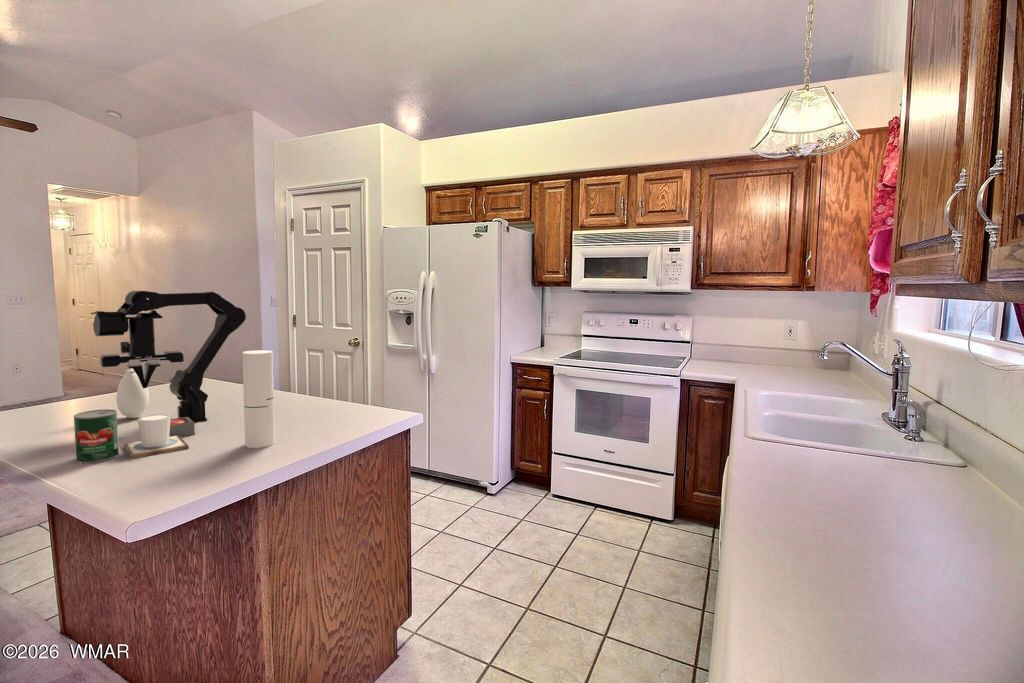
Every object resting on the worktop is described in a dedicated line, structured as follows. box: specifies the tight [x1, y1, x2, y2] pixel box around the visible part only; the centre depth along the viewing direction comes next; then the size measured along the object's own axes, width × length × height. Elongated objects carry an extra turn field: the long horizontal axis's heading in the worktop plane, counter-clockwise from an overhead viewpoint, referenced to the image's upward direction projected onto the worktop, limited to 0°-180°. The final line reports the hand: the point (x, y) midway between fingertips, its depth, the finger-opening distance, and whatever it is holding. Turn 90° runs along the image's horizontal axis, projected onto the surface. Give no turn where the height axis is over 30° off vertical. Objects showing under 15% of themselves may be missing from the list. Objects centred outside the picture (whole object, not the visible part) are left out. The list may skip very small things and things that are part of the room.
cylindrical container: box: [242, 349, 276, 449], centre depth 130 cm, size 7×7×25 cm
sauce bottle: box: [115, 368, 150, 420], centre depth 152 cm, size 8×8×18 cm
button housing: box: [169, 417, 196, 437], centre depth 138 cm, size 8×8×4 cm
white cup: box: [137, 414, 172, 447], centre depth 125 cm, size 7×7×7 cm
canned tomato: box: [73, 408, 120, 464], centre depth 117 cm, size 8×8×11 cm
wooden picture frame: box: [122, 435, 190, 459], centre depth 126 cm, size 12×12×1 cm
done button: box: [170, 420, 185, 425], centre depth 138 cm, size 5×5×2 cm
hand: (144, 388), depth 141 cm, fingers closed
